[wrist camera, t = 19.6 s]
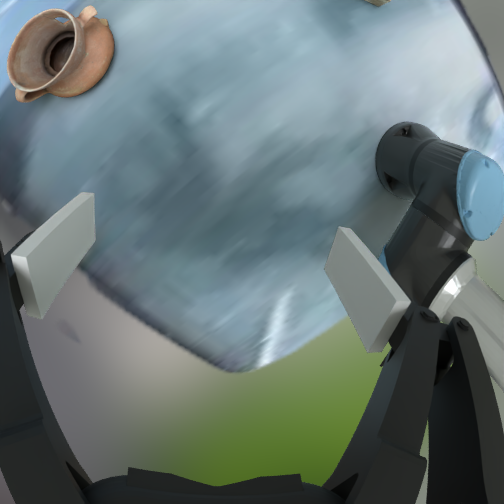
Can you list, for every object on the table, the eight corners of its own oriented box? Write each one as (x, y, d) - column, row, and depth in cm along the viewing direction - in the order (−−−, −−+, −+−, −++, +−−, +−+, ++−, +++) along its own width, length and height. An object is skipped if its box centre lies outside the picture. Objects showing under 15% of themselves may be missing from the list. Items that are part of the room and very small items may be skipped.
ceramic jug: (98, 1, 29) (61, -23, 17) (141, 49, 36) (111, 32, 23) (29, 73, 33) (-19, 74, 21) (66, 122, 40) (20, 134, 27)
